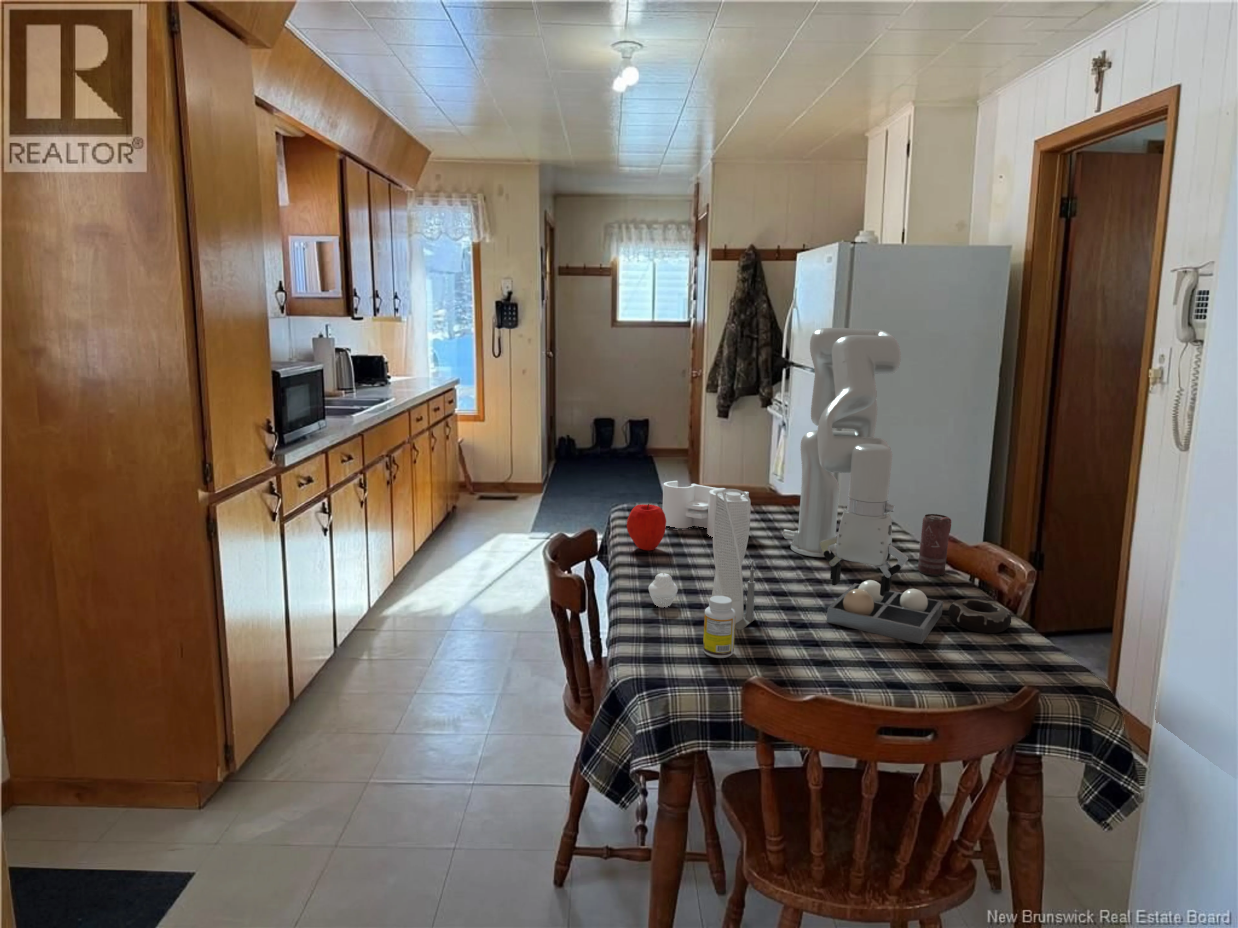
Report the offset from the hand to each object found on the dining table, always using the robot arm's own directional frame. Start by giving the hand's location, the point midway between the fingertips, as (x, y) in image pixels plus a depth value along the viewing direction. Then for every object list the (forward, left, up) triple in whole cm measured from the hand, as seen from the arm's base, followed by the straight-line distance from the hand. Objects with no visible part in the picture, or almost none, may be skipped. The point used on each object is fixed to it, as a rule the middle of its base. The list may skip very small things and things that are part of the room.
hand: (859, 588), depth 163 cm
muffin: (-36, -17, -7) cm, 40 cm away
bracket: (-56, +41, -7) cm, 69 cm away
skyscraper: (-21, -17, -7) cm, 28 cm away
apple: (-59, +15, -7) cm, 61 cm away
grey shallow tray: (+5, +4, -7) cm, 9 cm away
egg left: (0, +8, -6) cm, 10 cm away
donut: (+21, +12, -7) cm, 25 cm away
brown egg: (0, -1, -6) cm, 6 cm away
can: (+6, +41, -7) cm, 42 cm away
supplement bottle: (-16, -32, -7) cm, 36 cm away
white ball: (+9, +8, -6) cm, 14 cm away
